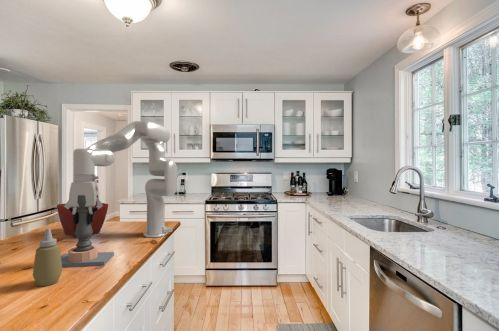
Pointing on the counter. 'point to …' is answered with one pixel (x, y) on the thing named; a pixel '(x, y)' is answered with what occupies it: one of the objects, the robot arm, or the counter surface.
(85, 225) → the candle holder
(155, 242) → the counter surface
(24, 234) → the counter surface
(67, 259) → the socket board
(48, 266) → the squeeze bottle
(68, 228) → the plant pot
